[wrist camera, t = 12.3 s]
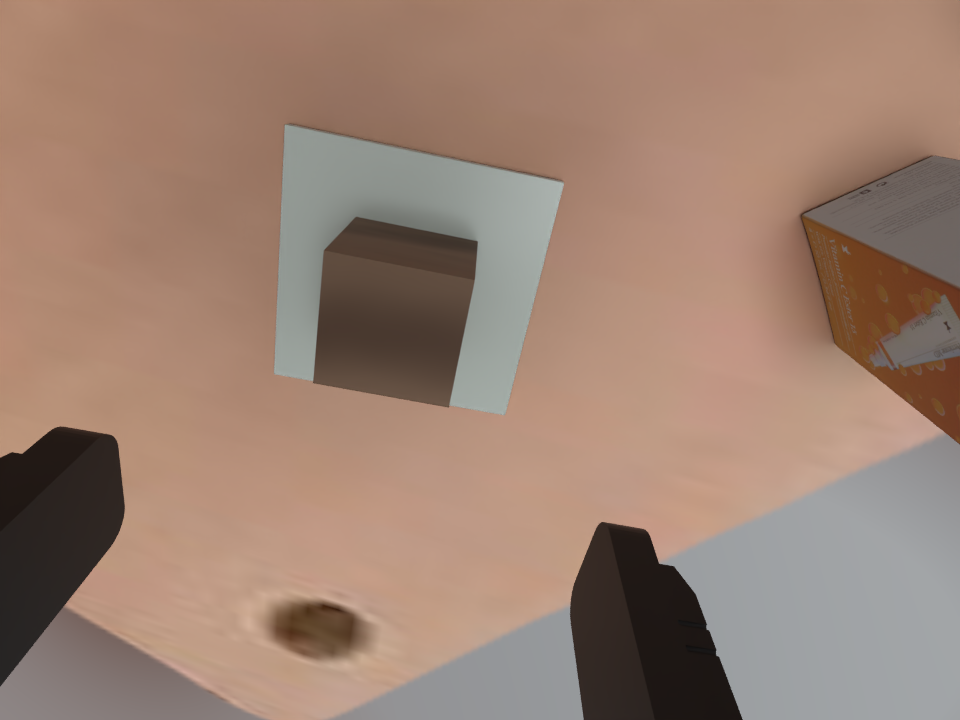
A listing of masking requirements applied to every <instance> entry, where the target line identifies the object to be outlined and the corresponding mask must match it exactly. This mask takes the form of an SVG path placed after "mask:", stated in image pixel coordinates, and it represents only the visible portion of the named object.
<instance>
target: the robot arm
mask: <svg viewBox="0 0 960 720" xmlns="http://www.w3.org/2000/svg"><path fill="white" fill-rule="evenodd" d="M124 510H125V505H124V495H123V486H122V477H121V468H120V459H119V449H118V443H117V441H116V439H115V438H114V437H113V436H112V435H109V434H103V433H97V432H91V431H86V430H80V429H74V428H68V427H57V428H54V429H52V430H51V431H49V432H48V433H47V434H46V435H44V436H43V437H42V438H41V439H40V440H38V441H37V442H36V443H35V444H34V445H32V446H31V447H30V448H29V449H28V450H26V451H25V452H24V453H23V454H19V453H13V452H12V453H10V454H7V455H5V456H3V457H1V458H0V686H1V685H2V684H3V682H4V681H5V680H6V679H7V677H8V676H9V675H10V673H11V672H12V671H13V670H14V668H15V667H16V666H17V665H18V663H19V662H20V661H21V660H22V658H23V657H24V656H25V655H26V653H27V652H28V651H29V649H30V648H31V647H32V646H33V644H34V643H35V642H36V640H37V639H38V638H39V637H40V635H41V634H42V633H43V632H44V630H45V629H46V628H47V627H48V625H49V624H50V622H52V620H53V619H54V618H55V616H56V615H57V614H58V613H59V611H60V610H61V609H62V608H63V606H64V605H65V604H66V603H67V601H68V600H69V599H70V598H71V596H72V595H73V594H74V592H75V591H76V590H77V589H78V587H79V586H80V585H81V584H82V582H83V581H84V580H85V579H86V577H87V576H88V575H89V574H90V572H91V571H92V570H93V568H94V567H95V566H96V565H97V563H98V562H99V561H100V560H101V558H102V557H103V556H104V555H105V553H106V552H107V551H108V549H109V548H110V547H111V545H112V544H113V542H114V541H115V539H116V537H117V535H118V533H119V531H120V528H121V525H122V522H123V518H124ZM570 617H571V618H570V619H571V626H572V627H571V628H572V635H573V642H574V650H575V657H576V664H577V672H578V679H579V687H580V694H581V702H582V709H583V717H584V720H743V719H742V717H741V714H740V711H739V709H738V706H737V703H736V701H735V698H734V695H733V693H732V690H731V687H730V685H729V682H728V679H727V677H726V674H725V672H724V669H723V666H722V664H721V661H720V658H719V657H718V656H716V648H715V645H714V642H713V640H712V637H711V634H710V632H709V630H707V629H706V625H707V624H706V621H705V618H704V616H703V613H702V610H701V608H700V605H699V602H698V600H697V597H696V594H695V593H694V592H693V590H692V589H691V588H690V587H689V585H688V584H687V583H686V581H685V580H684V579H683V578H682V576H681V575H680V574H679V572H678V571H677V570H676V569H675V567H674V566H669V565H663V564H659V562H658V559H657V556H656V553H655V550H654V547H653V544H652V541H651V538H650V535H649V533H648V532H647V531H646V530H644V529H640V528H634V527H629V526H623V525H617V524H611V523H606V522H601V523H600V524H599V525H598V526H597V528H596V530H595V533H594V535H593V538H592V540H591V543H590V545H589V548H588V550H587V553H586V555H585V558H584V560H583V563H582V565H581V568H580V570H579V573H578V575H577V578H576V580H575V583H574V586H573V591H572V596H571V606H570Z"/></svg>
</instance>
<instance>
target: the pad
mask: <svg viewBox="0 0 960 720" xmlns="http://www.w3.org/2000/svg"><path fill="white" fill-rule="evenodd" d="M563 185H564V182H563V181H561V180H556V179H552V178H547V177H542V176H537V175H533V174H528V173H523V172H518V171H513V170H509V169H504V168H499V167H494V166H490V165H485V164H480V163H475V162H470V161H466V160H461V159H456V158H451V157H447V156H442V155H437V154H432V153H427V152H423V151H418V150H413V149H408V148H404V147H399V146H394V145H389V144H384V143H380V142H375V141H370V140H365V139H360V138H356V137H351V136H346V135H341V134H337V133H332V132H327V131H322V130H317V129H313V128H308V127H303V126H298V125H294V124H285V132H284V155H283V178H282V201H281V225H280V248H279V271H278V294H277V317H276V341H275V364H274V374H276V375H282V376H287V377H293V378H299V379H304V380H310V381H313V377H314V365H315V352H316V340H317V327H318V315H319V303H320V290H321V278H322V265H323V253H324V250H325V249H326V248H327V246H328V245H329V244H330V243H331V242H332V241H333V240H334V239H335V238H336V237H337V236H338V235H339V234H340V233H341V232H342V231H343V230H344V229H345V228H346V227H347V226H348V225H349V224H350V222H351V221H352V220H353V219H354V218H355V217H360V218H365V219H370V220H375V221H380V222H385V223H390V224H395V225H400V226H405V227H410V228H415V229H420V230H425V231H430V232H435V233H440V234H445V235H450V236H454V237H459V238H464V239H469V240H474V241H478V247H477V260H476V272H475V282H474V287H473V292H472V297H471V302H470V306H469V311H468V316H467V321H466V326H465V331H464V336H463V341H462V346H461V350H460V355H459V360H458V365H457V370H456V375H455V380H454V385H453V390H452V394H451V399H450V404H449V405H450V406H456V407H461V408H467V409H472V410H478V411H484V412H489V413H495V414H500V415H505V413H506V409H507V405H508V401H509V397H510V394H511V390H512V386H513V382H514V378H515V374H516V370H517V366H518V362H519V358H520V354H521V350H522V346H523V342H524V339H525V335H526V331H527V327H528V323H529V319H530V315H531V311H532V307H533V303H534V299H535V295H536V291H537V287H538V283H539V280H540V276H541V272H542V268H543V264H544V260H545V256H546V252H547V248H548V244H549V240H550V236H551V232H552V228H553V224H554V221H555V217H556V213H557V209H558V205H559V201H560V197H561V193H562V189H563Z"/></svg>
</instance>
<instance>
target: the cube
mask: <svg viewBox="0 0 960 720" xmlns="http://www.w3.org/2000/svg"><path fill="white" fill-rule="evenodd" d="M477 247H478V241H474V240H469V239H464V238H459V237H454V236H450V235H445V234H440V233H435V232H430V231H425V230H420V229H415V228H410V227H405V226H400V225H395V224H390V223H385V222H380V221H375V220H370V219H365V218H360V217H355V218H354V219H353V220H352V221H351V222H350V224H349V225H348V226H347V227H346V228H345V229H344V230H343V231H342V232H341V233H340V234H339V235H338V236H337V237H336V238H335V239H334V240H333V241H332V242H331V243H330V244H329V245H328V246H327V248H326V249H325V250H324V253H323V265H322V278H321V290H320V303H319V315H318V327H317V340H316V352H315V365H314V377H313V383H316V384H321V385H327V386H332V387H338V388H343V389H349V390H355V391H360V392H366V393H371V394H377V395H382V396H388V397H393V398H399V399H404V400H410V401H416V402H421V403H427V404H432V405H438V406H443V407H449V404H450V399H451V394H452V390H453V385H454V380H455V375H456V370H457V365H458V360H459V355H460V350H461V346H462V341H463V336H464V331H465V326H466V321H467V316H468V311H469V306H470V302H471V297H472V292H473V287H474V282H475V272H476V260H477Z"/></svg>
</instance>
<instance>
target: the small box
mask: <svg viewBox="0 0 960 720" xmlns="http://www.w3.org/2000/svg"><path fill="white" fill-rule="evenodd" d="M802 220H803V223H804V226H805V229H806V232H807V235H808V238H809V242H810V245H811V249H812V252H813V256H814V259H815V263H816V267H817V271H818V275H819V278H820V282H821V286H822V290H823V294H824V298H825V302H826V306H827V310H828V314H829V318H830V323H831V327H832V331H833V336H834V340H835V344H836V345H837V346H838V347H839V348H840V349H841V350H842V351H844V352H845V353H846V354H848V355H849V356H850V357H851V358H853V359H854V360H855V361H856V362H857V363H859V364H860V365H861V366H863V367H864V368H865V369H866V370H868V371H869V372H870V373H871V374H873V375H874V376H875V377H877V378H878V379H879V380H880V381H881V382H883V383H884V384H885V385H887V386H888V387H889V388H890V389H891V390H893V391H894V392H895V393H896V394H898V395H899V396H900V397H901V398H903V399H904V400H905V401H906V402H907V403H909V404H910V405H912V406H913V407H914V408H915V409H916V410H918V411H919V412H920V413H921V414H923V415H924V416H925V417H926V418H928V419H929V420H930V421H931V422H933V423H934V424H935V425H936V426H937V427H939V428H940V429H941V430H943V431H944V432H945V433H946V434H948V435H949V436H950V437H951V438H953V439H954V440H955V441H956V442H958V443H959V444H960V160H956V159H950V158H945V157H939V156H932V157H929V158H927V159H925V160H923V161H920V162H918V163H916V164H913V165H911V166H909V167H907V168H905V169H902V170H900V171H898V172H895V173H893V174H891V175H889V176H887V177H885V178H882V179H880V180H878V181H876V182H873V183H871V184H869V185H867V186H864V187H862V188H860V189H858V190H856V191H853V192H851V193H849V194H847V195H844V196H842V197H840V198H838V199H836V200H834V201H831V202H829V203H827V204H825V205H822V206H820V207H818V208H816V209H813V210H811V211H809V212H807V213H805V214H803V215H802Z"/></svg>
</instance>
